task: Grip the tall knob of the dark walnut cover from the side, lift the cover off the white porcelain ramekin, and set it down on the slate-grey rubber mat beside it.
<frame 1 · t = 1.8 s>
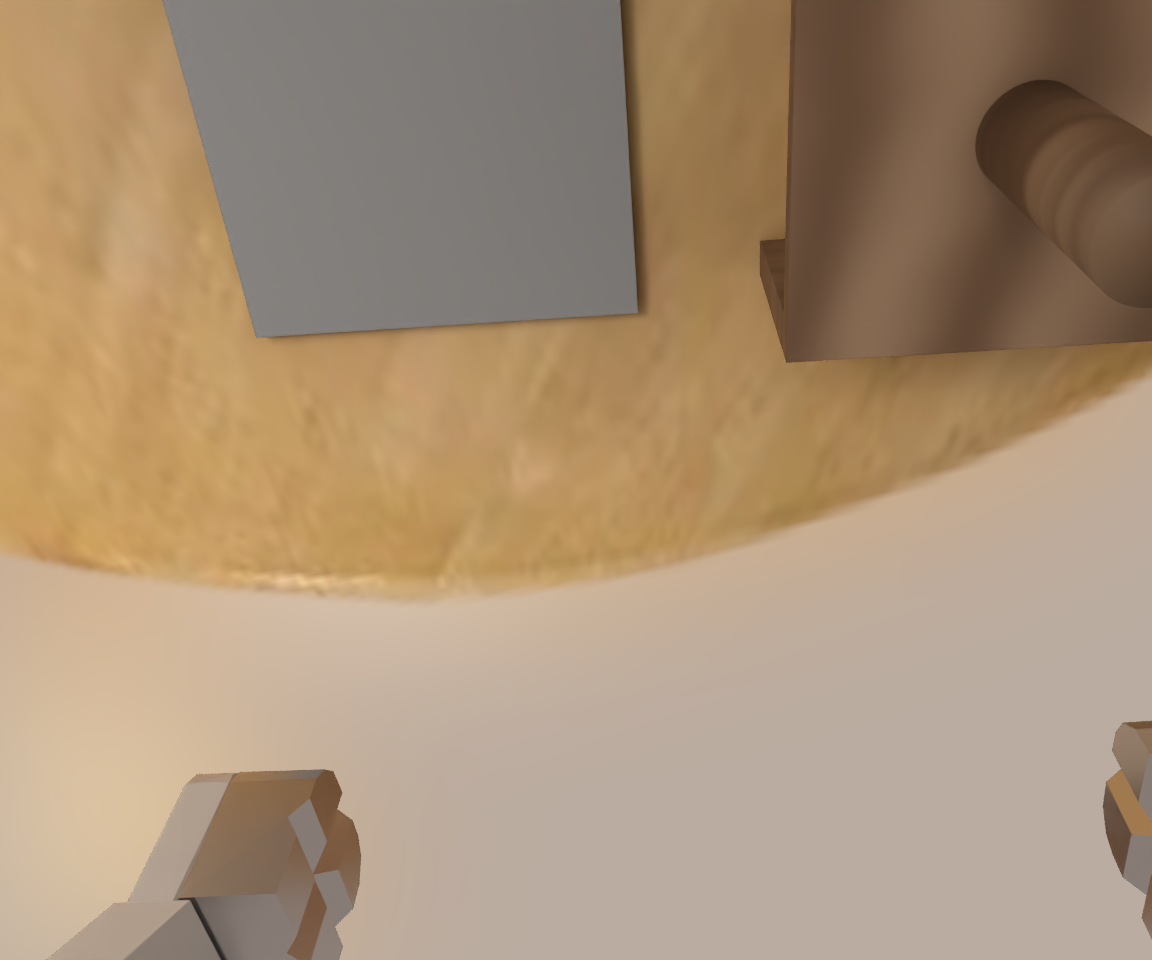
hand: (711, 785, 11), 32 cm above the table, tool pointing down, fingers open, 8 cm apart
walnut cover: (957, 78, 37), on the table
grey rubber mat: (414, 121, 39), on the table
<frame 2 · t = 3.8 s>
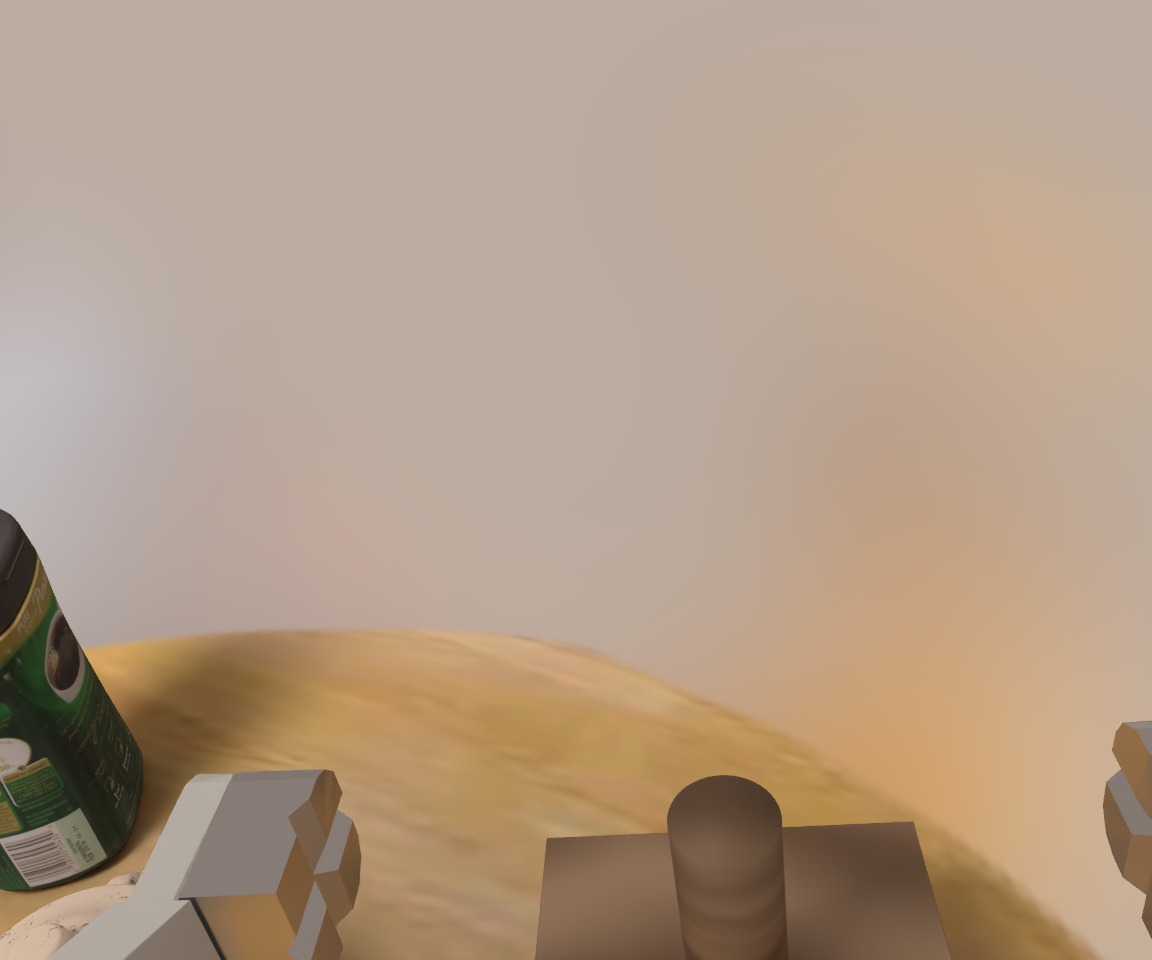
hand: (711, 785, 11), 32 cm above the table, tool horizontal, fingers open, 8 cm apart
coffee jar: (73, 825, 55), on the table
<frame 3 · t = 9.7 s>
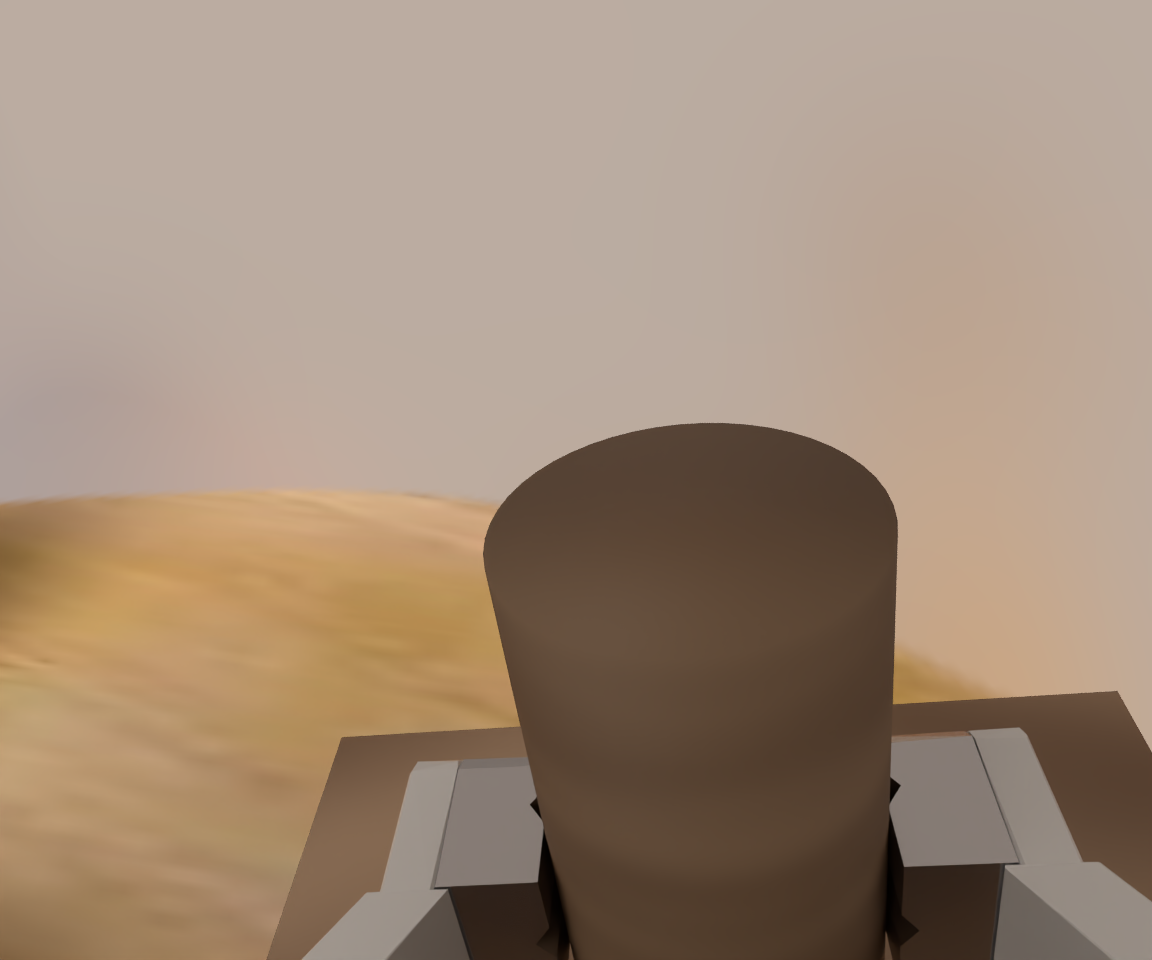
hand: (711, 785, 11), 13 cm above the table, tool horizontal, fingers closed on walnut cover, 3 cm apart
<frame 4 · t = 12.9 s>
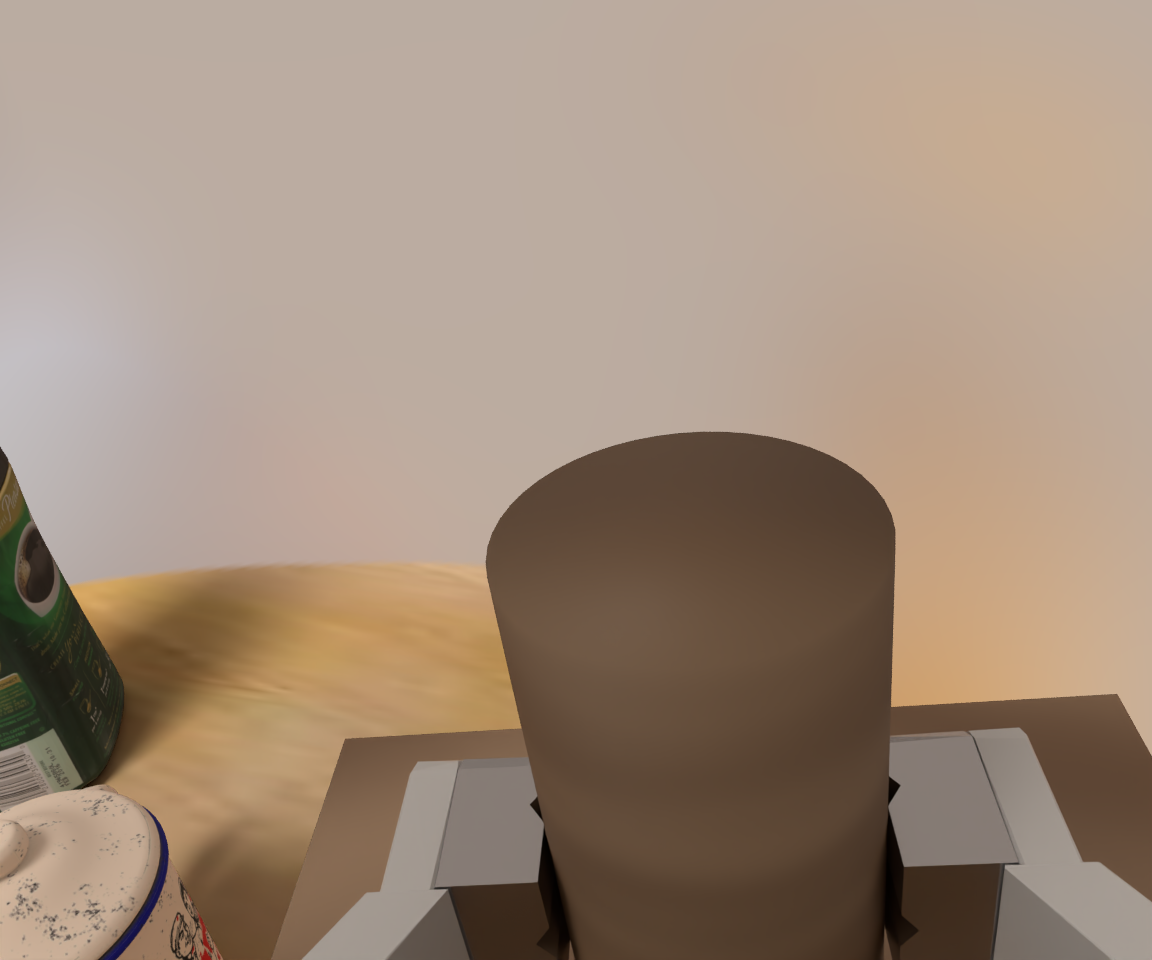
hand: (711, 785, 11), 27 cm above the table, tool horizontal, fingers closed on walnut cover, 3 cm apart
coffee jar: (50, 754, 53), on the table
when the fingers open (15 cm above the table, at t = 16.0 s): walnut cover drops 1 cm, resting on grey rubber mat.
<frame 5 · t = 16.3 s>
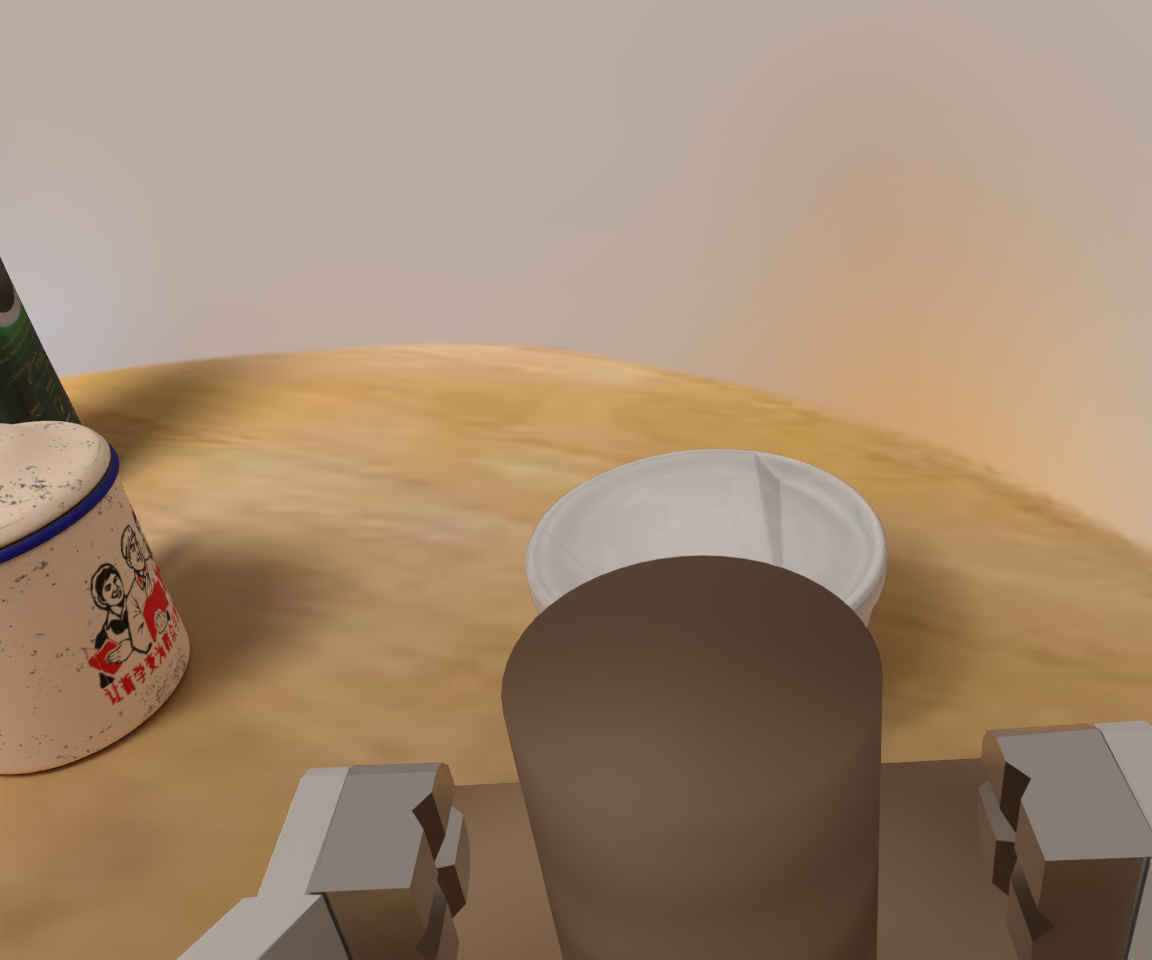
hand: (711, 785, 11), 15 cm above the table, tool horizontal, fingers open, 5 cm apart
coffee jar: (13, 498, 53), on the table
teacup with lid: (86, 669, 40), on the table
ramekin: (713, 665, 35), on the table
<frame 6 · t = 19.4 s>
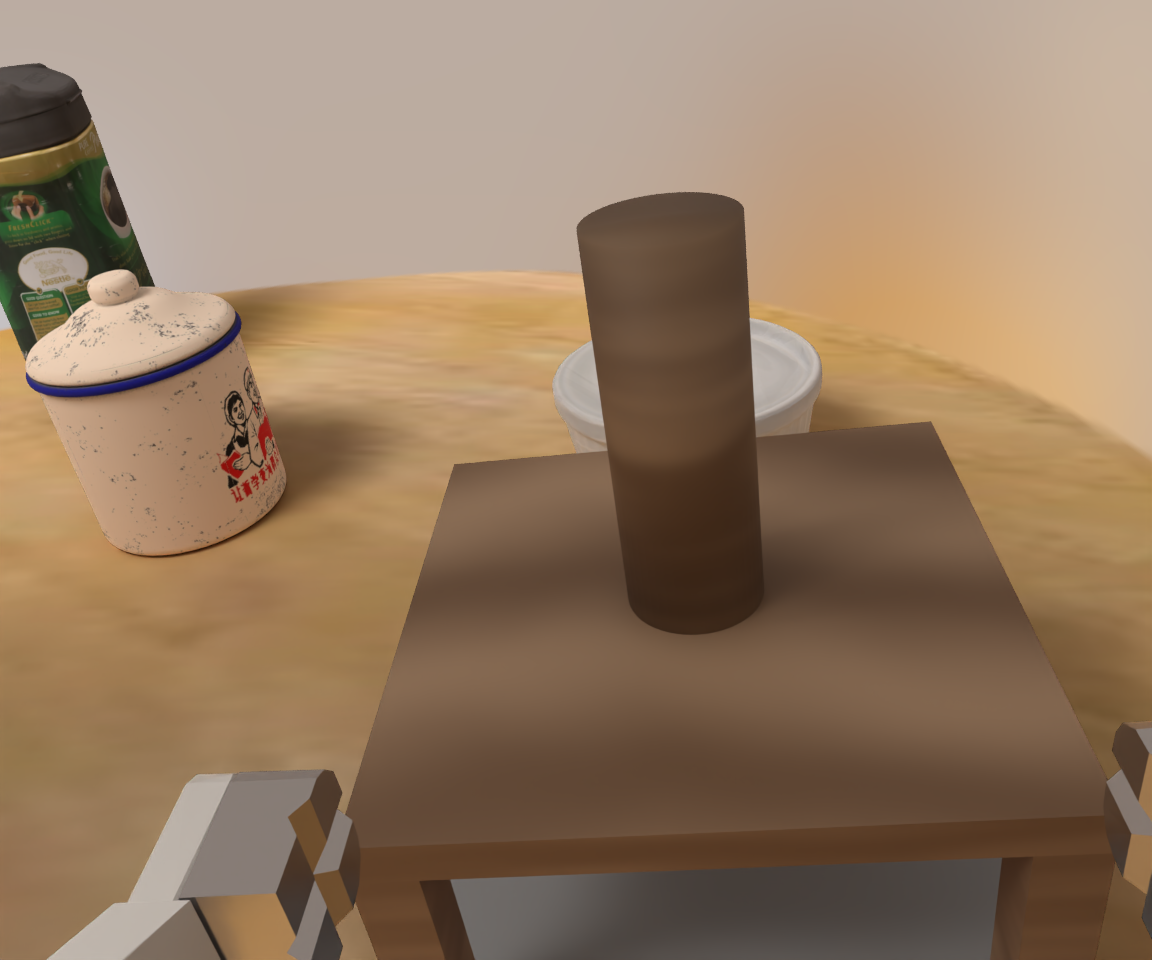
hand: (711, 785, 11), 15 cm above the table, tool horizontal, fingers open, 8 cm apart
coffee jar: (118, 388, 64), on the table
walnut cover: (717, 818, 28), point 1 cm above the table, touching grey rubber mat
teacup with lid: (204, 494, 50), on the table
grey rubber mat: (723, 836, 29), on the table
ramekin: (694, 475, 46), on the table
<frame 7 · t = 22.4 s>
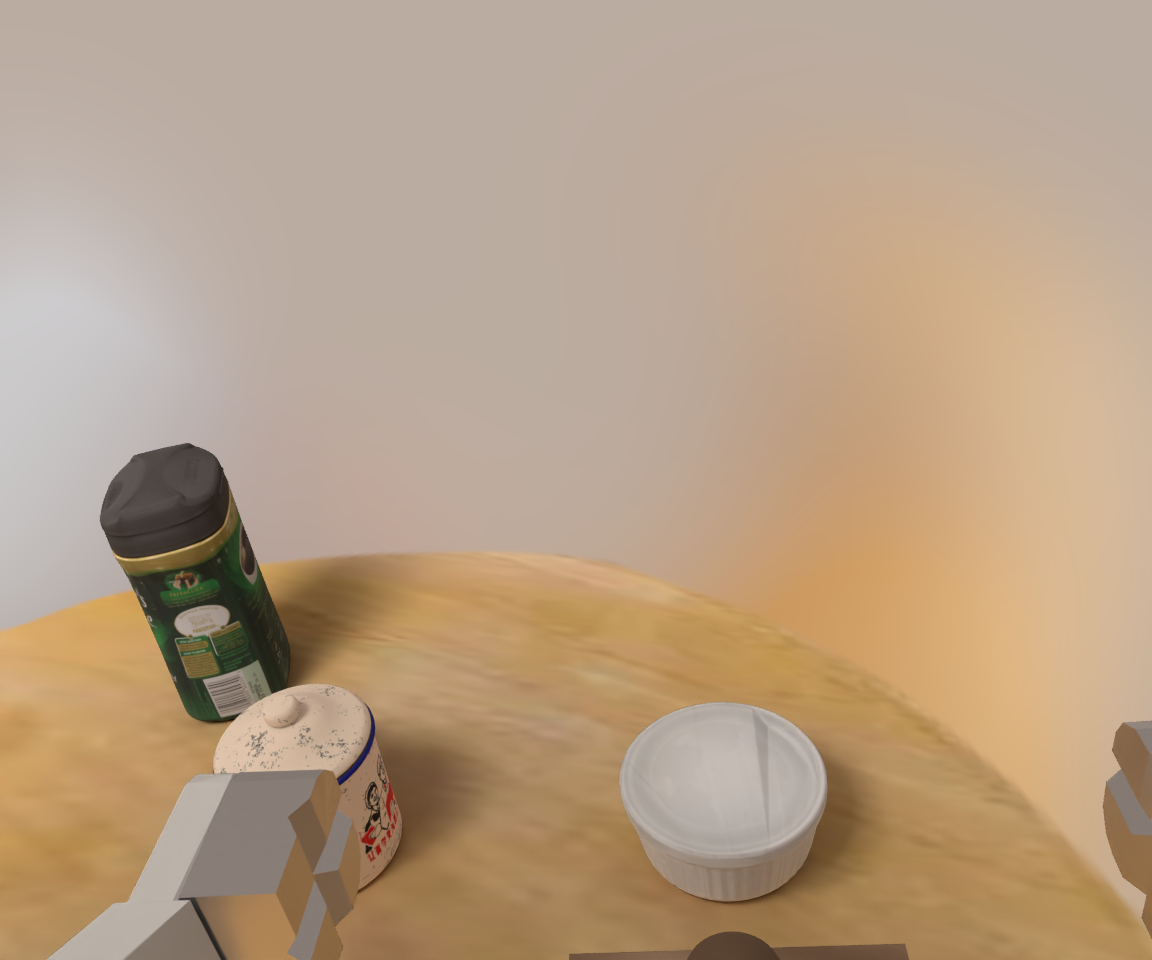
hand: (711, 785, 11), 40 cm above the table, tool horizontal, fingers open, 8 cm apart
coffee jar: (240, 683, 77), on the table
teacup with lid: (334, 828, 63), on the table
ramekin: (727, 838, 59), on the table
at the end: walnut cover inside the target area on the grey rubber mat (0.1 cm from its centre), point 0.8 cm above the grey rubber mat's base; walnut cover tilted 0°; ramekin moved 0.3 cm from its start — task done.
